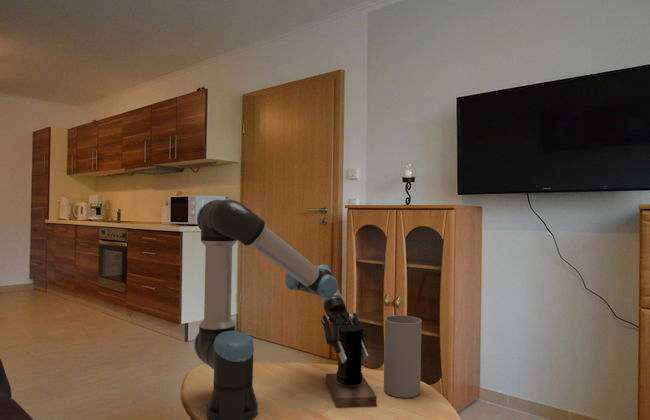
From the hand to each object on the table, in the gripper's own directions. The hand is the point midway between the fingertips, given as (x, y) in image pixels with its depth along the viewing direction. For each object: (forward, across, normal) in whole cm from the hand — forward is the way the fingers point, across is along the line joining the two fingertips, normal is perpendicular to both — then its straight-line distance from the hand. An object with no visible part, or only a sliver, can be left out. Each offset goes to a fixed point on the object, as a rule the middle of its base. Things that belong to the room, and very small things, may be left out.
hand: (355, 359), depth 152 cm
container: (+4, 0, -8) cm, 9 cm away
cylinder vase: (+11, -18, -7) cm, 22 cm away
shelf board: (+7, 0, -11) cm, 13 cm away
